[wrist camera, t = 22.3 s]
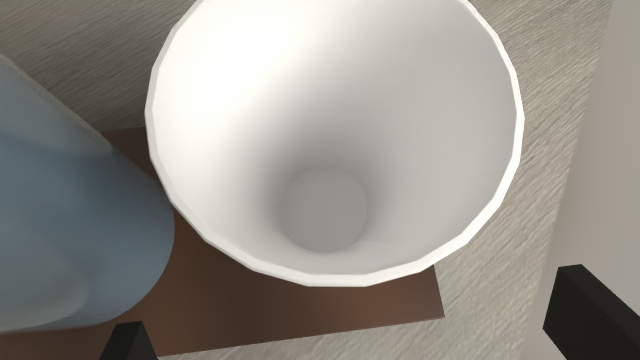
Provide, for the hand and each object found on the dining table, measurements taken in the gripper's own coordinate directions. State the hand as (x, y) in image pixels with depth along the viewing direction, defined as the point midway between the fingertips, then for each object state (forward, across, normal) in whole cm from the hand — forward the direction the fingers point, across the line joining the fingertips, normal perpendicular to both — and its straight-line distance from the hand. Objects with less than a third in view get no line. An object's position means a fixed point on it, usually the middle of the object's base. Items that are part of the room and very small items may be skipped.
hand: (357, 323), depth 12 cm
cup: (+11, 0, -3) cm, 12 cm away
